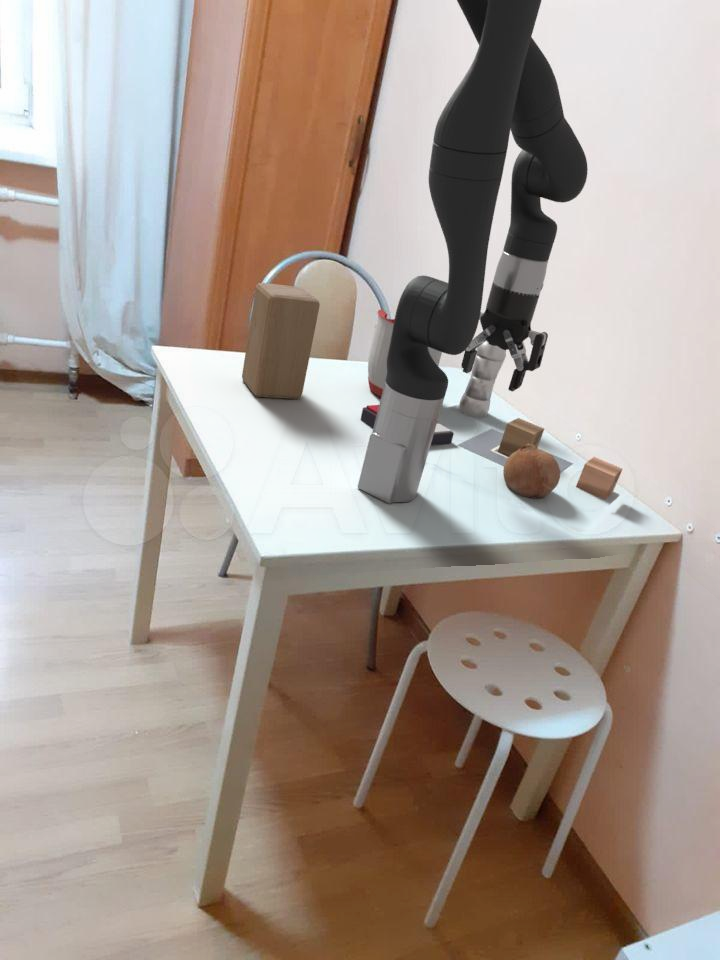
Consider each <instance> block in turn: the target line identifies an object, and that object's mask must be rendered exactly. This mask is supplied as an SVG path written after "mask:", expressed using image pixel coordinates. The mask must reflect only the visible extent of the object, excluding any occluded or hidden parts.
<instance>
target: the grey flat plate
mask: <svg viewBox="0 0 720 960" xmlns="http://www.w3.org/2000/svg"><path fill="white" fill-rule="evenodd" d="M503 435H504V432H501V431H499V430H496V429H494V428H489V429H488V430H486V431H483V432H482V433H481V432H480V433H479V434H477V435H475V436H473V437H471V438H468V439H467V440H465V441H462V442H460V443H458V444H457V446H458V447H460V448H462V449H464V450H467V451H468V452H471V453H473V454H475V455H478V456H480V457H483V458H485V459H487V460H488V461H490V462H493V463H495V464H498V465H500V466H502V467H504V465H505V462H506V460H507V459H508V458H509V457H508V456H506V455H504V454H501V453H499V452H498V449H499V446H500V443H501V440H502V438H503ZM537 449H539V450H542V451H544V452H547V453H549V454H551V455H552V456H553V457H554V459H555V460H556V461H557V463H558V465H559V469H560V474H561V473H563V471H565V470H566V469H568V468H569V467H571V466H572V465H573V464H574V463H573V462H570V461H568V460H566V459H564V458H561V457H559V456H557V455H554V454H552V453H550V452H548V451H545V450H543V449H540V448H539V447H538V448H537Z"/></svg>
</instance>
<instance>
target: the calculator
mask: <svg viewBox="0 0 720 960" xmlns="http://www.w3.org/2000/svg"><path fill="white" fill-rule="evenodd" d="M378 408H379V404H370V405H366V407H363V408H362V410H361V414H360V415H361V416H360V421H361V422H362V423H364V424H365V425H367V426H368V427H369V428H370V429H372V430H373V428H374V424H375V420H376V416H377V412H378ZM453 438H454V432H453V431H452V430H451V429H450V428H447V426H444V425H443V424H441V423H437V425H436V428H435V432H434V435H433V439H432V442H431V445H430V447H431V446H440V445H442V446H443V445H450V444H451V443H452V442H453Z"/></svg>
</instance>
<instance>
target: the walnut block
mask: <svg viewBox="0 0 720 960" xmlns="http://www.w3.org/2000/svg"><path fill="white" fill-rule="evenodd" d="M544 431H545V428H543V427H541V426H539V425H537V424H534V423H532V422H529V421H528V420H527V421H526V420H525V419H521V418H520V417H518V418H515V419H513V420H511V421H509V422H507V423H506V426H505V430H504V432H503V433H504V435H503V438H502V440H501V443H500V446H499V449H498V452H499V453H501V454H504V455H506V456H508V457H509V456H510V455H511V454H513V453H514V452H516V451H518V450H519V449H520V448H521V447H523V446H525V445H526V444H527V443H528V444H529V443H530V444H532V445H534V446H536V447H537V448H538V449H539V445H540V442H541V438H542V437H543V434H544Z"/></svg>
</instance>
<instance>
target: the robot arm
mask: <svg viewBox="0 0 720 960" xmlns="http://www.w3.org/2000/svg"><path fill="white" fill-rule="evenodd" d="M456 1H457V3H458V6H459V7H460V9H461V11H462V13H463V15H464V17H465V20H466V21H467V23H468V25H469V28H470V29H471V31H472V33H473V36H474V38H475V39H476V42H477V44H478V49H477V50H476V53H475V56H474V57H473V58H474V59H473V60H472V63H471V64H470V67H469V68H468V70H467V72H466V73H465V75H464V77H463V78H462V79H461V81H460V83H459V84H458V86H457V87H456V88H455V90H454V91H453V93H452V95H451V96H450V98H449V99H448V101H447V103H446V104H445V106H444V108H443V110H442V111H441V113H440V115H439V118H438V120H437V123H436V125H435V129H434V133H433V134H434V135H433V140H432V141H433V142H432V146H431V148H432V149H431V153H430V154H431V156H430V163H429V168H428V189H429V193H430V197H431V201H432V205H433V207H434V211H435V214H436V217H437V219H438V223H439V225H440V229H441V231H442V234H443V237H444V240H445V243H446V249H447V254H448V281H447V282H446V281H445V280H441V279H438V278H434V277H432V276H428V275H417V276H416V277H414V278H412V279H411V280H410V281H409V282H408V283H407V284H406V286H405V288H404V290H403V291H402V293H401V295H400V298H399V300H398V305H397V307H396V310H395V315H394V318H393V319H394V325H393V330H392V336H391V341H390V346H389V351H388V356H387V376H386V380H385V384H384V388H383V392H382V396H381V397H380V400H379V404H378V405H379V408H378V412H377V416H376V420H375V424H374V428H373V429H372V433H370V435H369V440H368V442H367V448H366V452H365V455H364V458H363V459H364V460H363V463H362V466H361V472H360V476H359V480H358V484H357V489H359V490H361V491H363V492H366V493H367V494H369V495H371V496H373V497H375V498H377V499H379V500H380V501H383V502H385V503H387V504H389V505H390V504H392V503H407V502H411V501H413V500H414V499H416V497H417V495H418V490H419V487H420V484H421V479H422V476H423V472H424V469H425V466H426V463H427V458H428V455H429V452H430V449H431V446H430V445H431V442H432V439H433V435H434V432H435V428H436V425H437V424H438V421H439V417H440V413H441V410H442V407H443V404H444V400H445V396H446V394H447V390H448V387H449V386H448V385H449V378H448V376H447V374H446V372H445V371H444V370H443V369H442V368H441V367H440V366H439V365H437V364H436V363H435V362H434V360H433V359H432V357H431V355H430V353H429V351H428V347H430V348H433V349H435V350H438V351H440V352H442V354H447V355H450V356H457V355H460V354H462V353H463V352H464V353H463V357H462V361H461V368H462V372H463V373H465V374H470V373H472V369H473V365H474V361H475V357H476V353H477V350H476V348H477V347H479V346H480V345H481V344H483V343H484V342H486V341H487V342H488V343H489V344H490V345H492V346H498V347H499V348H501V349H503V350H506V351H507V350H508V352H509V354H510V357H511V358H512V359H513V362H514V365H515V367H516V368H515V369H513V373H512V376H511V379H510V382H509V386H508V391H510V392H514V391H516V390H517V389H520V387H522V385H523V382H524V378H525V376H526V374H527V373H526V372H527V371H528V372H533V371H535V370H537V369H539V368H541V365H542V361H543V358H544V357H543V356H544V353H545V348H546V346H547V341H548V337H549V334H548V333H547V332H546V331H543V332H539V331H535V330H532V327H531V326H532V325H531V324H532V320H533V318H534V314H535V311H536V308H537V305H538V301H539V299H540V295H541V291H542V290H543V287H544V282H545V277H546V273H547V267H548V264H549V259H550V256H551V253H552V250H553V249H552V248H553V246H554V243H555V239H556V236H557V232H558V224H557V223H556V221H555V220H554V219H552V218H551V217H550V216H548V215H547V214H546V213H544V211H543V210H542V206H541V205H542V204H541V199H544V200H548V201H552V202H555V203H561V204H562V203H567V202H571V201H573V200H574V199H575V198H577V197H578V196H580V194H581V192H582V191H583V189H584V187H585V185H586V183H587V179H588V170H589V169H588V161H587V160H588V159H587V156H586V153H585V152H584V149H583V147H582V145H581V143H580V141H579V139H578V137H577V136H576V133H575V132H574V130H573V129H572V127H571V125H570V124H569V123H568V120H567V119H566V116H565V113H564V108H563V104H562V100H561V99H562V98H561V94H560V90H559V86H558V83H557V78H556V76H555V73H554V70H553V69H552V66H551V64H550V63H549V61H548V59H547V57H546V55H545V54H544V53H543V51H542V49H541V48H540V47H539V46H538V44H537V42H536V41H535V40H534V39H533V37H532V36H533V33H534V30H535V29H534V28H535V25H536V21H537V17H538V15H539V11H540V8H541V4H542V0H456ZM510 133H511V135H512V138H513V140H514V143H515V144H516V146H517V147H519V148H520V149H521V151H520V152H519V153H518V155H517V157H516V158H515V161H514V163H513V168H512V173H511V183H510V184H511V189H510V190H511V192H510V193H511V194H510V196H511V198H510V199H511V200H510V224H509V228H508V231H507V236H506V239H505V243H504V246H503V250H502V251H501V252H502V253H501V256H500V258H499V260H498V263H497V266H496V269H495V273H494V277H493V280H492V284H491V287H490V291H489V295H488V299H487V302H486V306H485V310H484V312H482V304H483V295H484V286H485V278H486V277H485V276H486V268H487V259H488V258H487V257H488V250H489V244H490V243H489V242H490V238H491V237H490V236H491V231H492V224H493V220H494V216H495V215H494V214H495V210H496V205H497V200H498V196H499V192H500V189H501V188H500V187H501V183H502V179H503V173H504V167H505V163H506V157H507V154H508V147H509V140H510ZM479 322H480V325H481V329H482V331H481V332H480V333H479V334H478V335H476V336H475V334H476V332H477V329H478V325H479ZM528 338H529V339H530V345H531V346H532V349H531V353H530V356H529V359H528V356H527V349H526V345H525V343H524V341H525V340H527V339H528Z"/></svg>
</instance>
